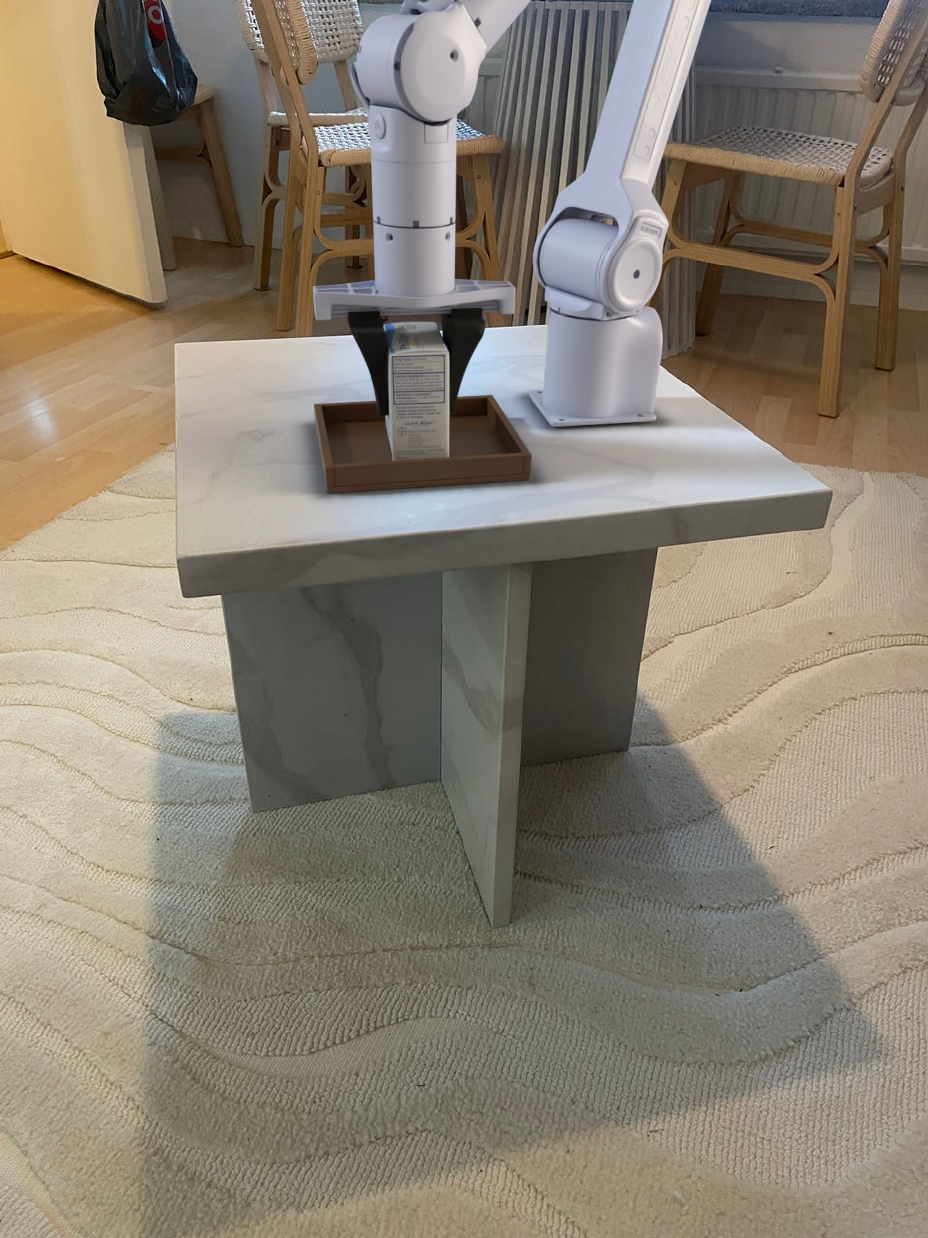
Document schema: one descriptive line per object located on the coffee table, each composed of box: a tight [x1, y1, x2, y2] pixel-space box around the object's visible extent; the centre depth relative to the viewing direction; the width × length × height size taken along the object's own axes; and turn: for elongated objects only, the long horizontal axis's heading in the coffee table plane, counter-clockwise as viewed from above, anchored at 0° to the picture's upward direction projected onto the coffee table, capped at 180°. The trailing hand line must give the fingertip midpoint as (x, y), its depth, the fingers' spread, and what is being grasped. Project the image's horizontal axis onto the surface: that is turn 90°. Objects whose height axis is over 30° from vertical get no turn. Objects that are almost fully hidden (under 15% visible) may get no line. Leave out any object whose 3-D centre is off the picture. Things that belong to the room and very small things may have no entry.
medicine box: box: [384, 321, 449, 461], centre depth 70 cm, size 8×4×9 cm, turn 8°
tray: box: [313, 394, 533, 494], centre depth 72 cm, size 15×13×2 cm
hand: (416, 409), depth 71 cm, fingers closed on medicine box, 4 cm apart
